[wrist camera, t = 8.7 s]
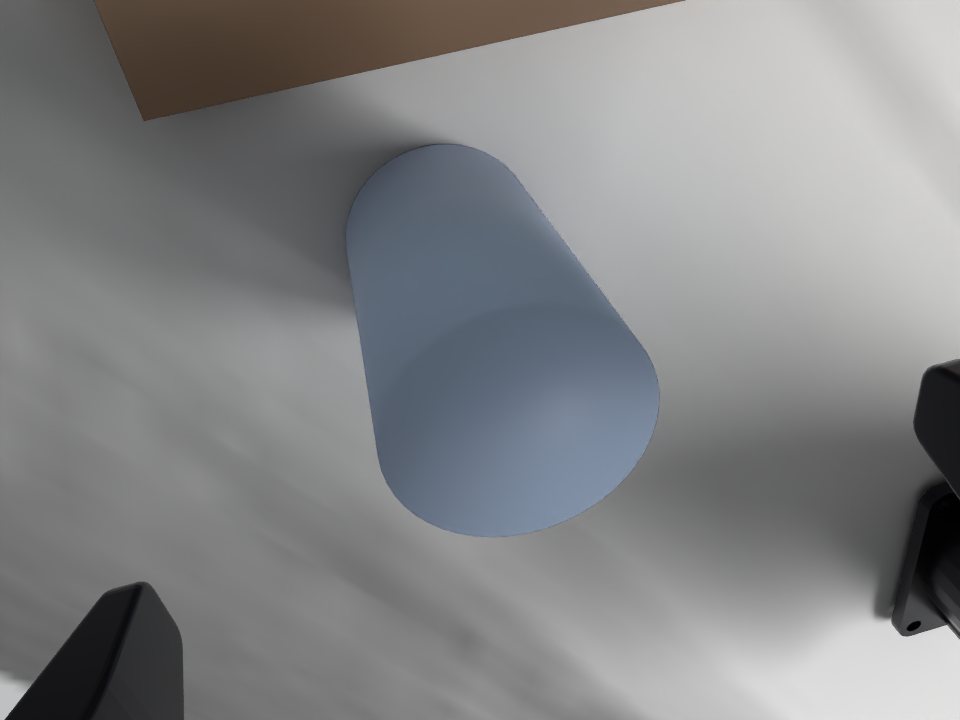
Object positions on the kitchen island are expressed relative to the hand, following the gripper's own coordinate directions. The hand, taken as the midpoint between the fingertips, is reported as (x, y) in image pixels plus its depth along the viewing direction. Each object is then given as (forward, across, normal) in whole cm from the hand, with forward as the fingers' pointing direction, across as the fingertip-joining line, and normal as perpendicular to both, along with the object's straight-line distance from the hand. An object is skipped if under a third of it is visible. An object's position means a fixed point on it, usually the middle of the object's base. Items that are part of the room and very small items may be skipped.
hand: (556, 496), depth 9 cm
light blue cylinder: (+7, 0, 0) cm, 7 cm away
